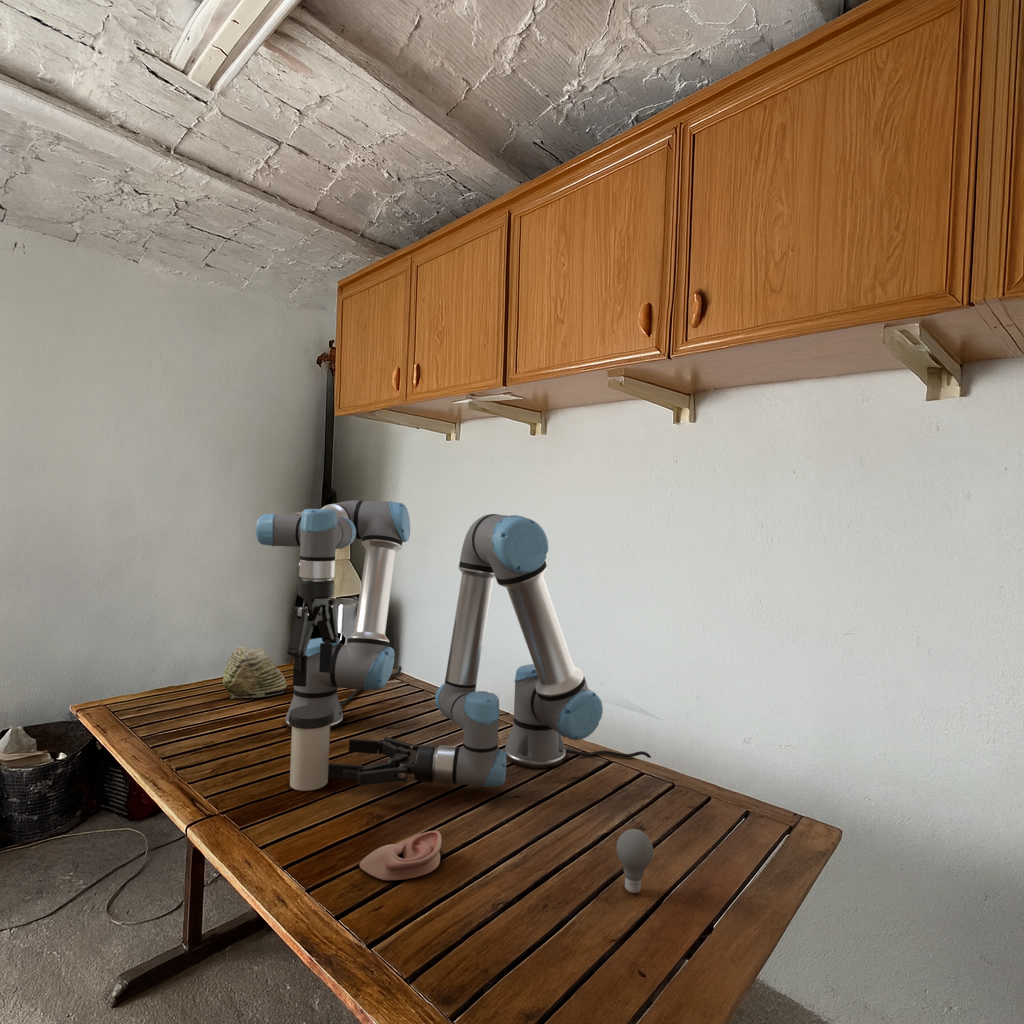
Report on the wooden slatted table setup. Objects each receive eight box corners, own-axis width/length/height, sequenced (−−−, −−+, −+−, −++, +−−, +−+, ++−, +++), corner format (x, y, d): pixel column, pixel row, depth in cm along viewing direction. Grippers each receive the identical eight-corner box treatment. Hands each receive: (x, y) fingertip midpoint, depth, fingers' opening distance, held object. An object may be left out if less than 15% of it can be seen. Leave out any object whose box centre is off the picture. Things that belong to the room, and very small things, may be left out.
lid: (306, 711, 146) (306, 702, 146) (341, 717, 143) (342, 708, 143) (279, 725, 137) (280, 715, 137) (316, 731, 134) (317, 721, 134)
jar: (304, 771, 145) (307, 705, 145) (335, 778, 143) (338, 710, 143) (281, 786, 138) (284, 716, 137) (313, 793, 135) (316, 722, 135)
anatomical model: (352, 851, 106) (379, 818, 118) (351, 875, 106) (379, 839, 118) (427, 864, 104) (448, 829, 115) (426, 888, 104) (447, 850, 115)
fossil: (218, 695, 195) (220, 647, 195) (278, 685, 208) (279, 640, 207) (228, 703, 189) (230, 653, 188) (289, 692, 201) (290, 645, 201)
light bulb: (610, 879, 108) (613, 822, 108) (644, 879, 109) (647, 822, 109) (619, 902, 102) (622, 840, 102) (655, 901, 103) (658, 840, 103)
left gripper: (326, 572, 151) (322, 664, 152) (271, 584, 129) (267, 691, 129) (355, 574, 150) (352, 667, 150) (305, 586, 127) (301, 695, 128)
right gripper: (423, 808, 125) (318, 801, 127) (444, 757, 150) (356, 751, 152) (424, 771, 125) (319, 763, 126) (445, 726, 150) (357, 720, 151)
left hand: (313, 678), depth 140 cm, fingers open, 11 cm apart
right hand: (339, 757), depth 139 cm, fingers open, 13 cm apart
